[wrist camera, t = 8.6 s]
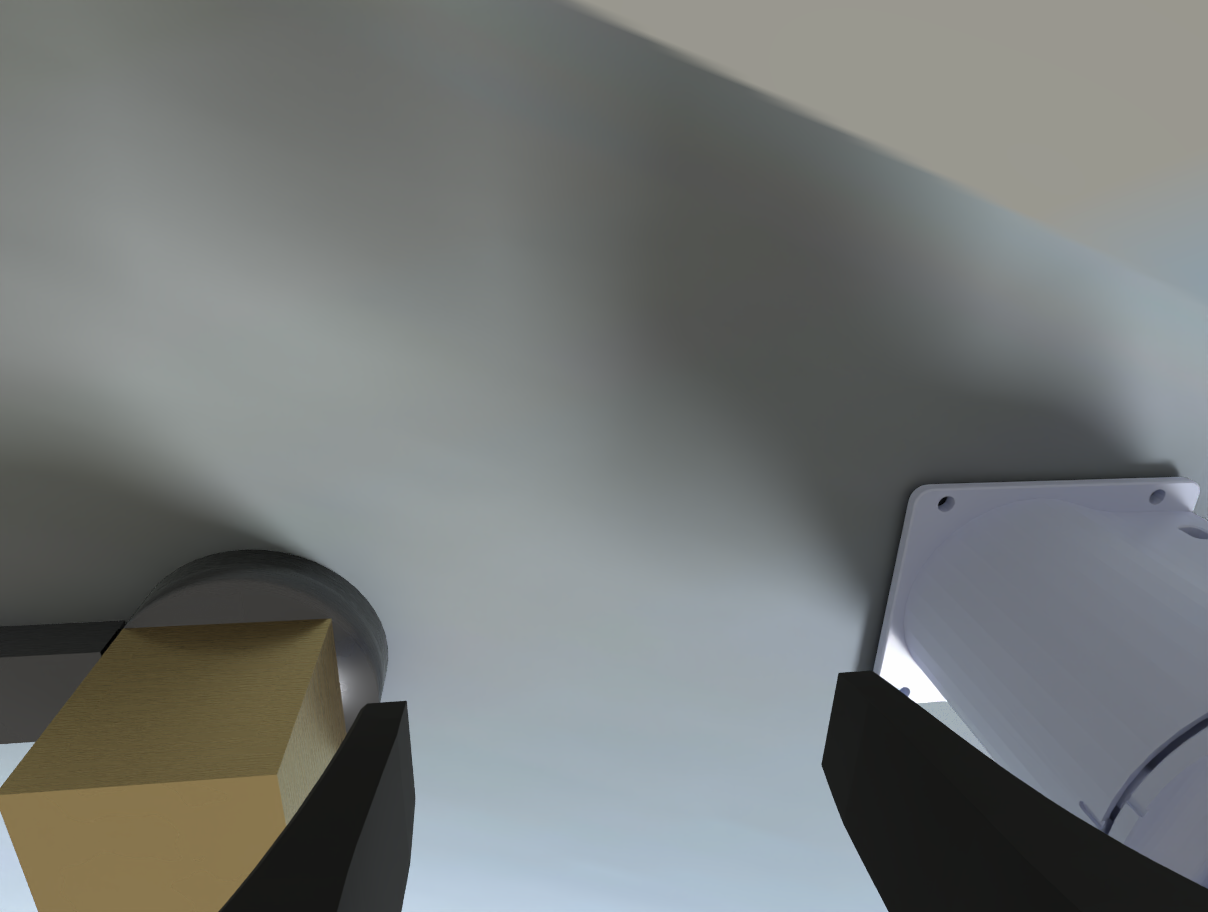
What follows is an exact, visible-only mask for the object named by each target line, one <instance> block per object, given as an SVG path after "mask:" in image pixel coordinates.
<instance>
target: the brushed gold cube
mask: <svg viewBox="0 0 1208 912" xmlns="http://www.w3.org/2000/svg"><path fill="white" fill-rule="evenodd" d="M345 736H346V728H345V720H344V712H343V704H342V696H341V689H340V681H339V673H338V665H337V657H336V650H335V642H334V634H333V626H332V618H331V619H311V620H290V621H269V622H248V623H227V624H206V625H185V626H164V627H144V628H123V629H122V631H121V632H120V633H119V635H118V636H117V637H116V638H115V640H114V641H113V642H112V644H111V645H110V646H109V648H108V649H107V650H106V651H105V653H104V654H103V655H102V657H101V658H100V659H99V661H98V662H97V663H96V664H95V666H94V667H93V668H92V670H91V671H90V672H89V673H88V675H87V676H86V677H85V679H84V680H83V681H82V683H81V684H80V685H79V686H78V688H77V689H76V690H75V692H74V693H73V694H72V696H71V697H70V698H69V699H68V701H67V702H66V703H65V705H64V706H63V707H62V708H61V710H60V711H59V712H58V714H57V715H56V716H55V718H54V719H53V720H52V721H51V723H50V724H49V725H48V727H47V728H46V729H45V731H44V732H43V733H42V734H41V736H40V737H39V738H38V740H37V741H36V742H35V744H34V745H33V746H32V747H31V749H30V750H29V751H28V753H27V754H26V755H25V756H24V758H23V759H22V760H21V762H20V763H19V764H18V766H17V767H16V768H15V769H14V771H13V772H12V773H11V775H10V776H9V777H8V779H7V780H6V781H5V782H4V784H3V785H2V786H1V788H0V811H1V814H2V817H3V819H4V822H5V825H6V827H7V830H8V833H9V835H10V838H11V841H12V843H13V846H14V849H15V851H16V854H17V857H18V859H19V862H20V865H21V867H22V870H23V872H24V875H25V878H26V880H27V883H28V886H29V888H30V891H31V894H32V896H33V899H34V902H35V904H36V907H37V910H38V912H218V911H219V910H220V909H221V908H222V907H223V906H224V905H225V903H226V902H227V901H228V900H229V899H230V897H231V896H232V895H233V894H234V893H235V891H236V890H237V889H238V888H239V887H240V885H241V884H242V883H243V882H244V880H245V879H246V878H247V877H248V876H249V874H250V873H251V872H252V871H253V869H254V868H255V867H256V865H257V864H258V863H259V862H260V860H261V859H262V858H263V856H264V855H265V854H266V852H267V851H268V850H269V848H270V847H271V846H272V844H273V843H274V842H275V840H276V839H277V838H278V836H279V835H280V834H281V832H282V831H283V830H284V828H285V827H286V826H287V824H288V823H289V822H290V820H291V819H292V818H293V816H294V815H295V813H296V812H297V811H298V809H299V808H300V806H301V805H302V803H303V802H304V800H305V799H306V797H307V796H308V794H309V793H310V791H311V790H312V788H313V787H314V785H315V784H316V782H317V781H318V780H319V778H320V777H321V775H322V774H323V772H324V770H325V769H326V767H327V766H328V764H329V763H330V761H331V759H332V758H333V756H334V755H335V753H336V751H337V750H338V748H339V746H340V745H341V743H342V741H343V740H344V738H345Z"/></svg>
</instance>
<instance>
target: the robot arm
mask: <svg viewBox="0 0 1208 912" xmlns="http://www.w3.org/2000/svg"><path fill="white" fill-rule="evenodd" d="M1154 491H1155V492H1154ZM1153 492H1154V493H1153ZM1152 493H1153V495H1152V496H1151V494H1152ZM1199 493H1200V488H1199V485H1198V484H1197V483H1196V482H1195V481H1193V480H1191V479H1189V478H1186V477H1157V478H1123V479H1090V480H1056V481H1023V482H989V483H956V484H927V485H922V486H920V487H918V488H917V489H915V490H914V492H913V493H912V494H911V496H910V498H909V501H908V506H907V511H906V516H905V520H904V525H903V530H902V535H901V540H900V544H899V549H898V554H897V559H896V564H895V568H894V573H893V578H892V583H891V588H890V592H889V597H888V602H887V607H886V611H885V616H884V621H883V626H882V631H881V635H880V640H879V645H878V650H877V655H876V659H875V664H874V669H873V671H861V672H845V673H839V674H838V679H837V684H836V690H835V695H834V700H833V706H832V711H831V717H830V722H829V727H828V733H827V738H826V743H825V749H824V754H823V759H822V768H823V770H824V773H825V776H826V779H827V782H828V784H829V787H830V790H831V793H832V796H833V798H834V801H835V803H836V806H837V809H838V811H839V814H840V816H841V819H842V821H843V824H844V826H845V828H846V830H847V832H848V834H849V836H850V838H851V840H852V842H853V844H854V846H855V848H856V850H857V852H858V854H859V856H860V858H861V860H862V861H863V863H864V865H865V867H866V869H867V871H868V873H869V875H870V877H871V879H872V881H873V883H874V885H875V887H876V888H877V890H878V892H879V894H880V896H881V898H882V900H883V902H884V904H885V906H886V908H887V910H888V911H889V912H1208V520H1206V519H1204V518H1202V517H1200V516H1199V515H1197V514H1195V513H1193V510H1194V507H1195V505H1196V502H1197V499H1198V497H1199ZM946 496H947V500H946V502H945V503H944V504H942V505H940V506H938V503H939V501H940V500H941V499H942V498H943V497H946ZM1150 496H1151V497H1150ZM902 687H903V688H902ZM900 688H902V689H901V690H898V689H900ZM938 701H947V702H948V703H949V705H950V706H951V707H952V708H953V710H954V711H955V712H956V713H957V715H958V716H959V717H960V718H961V720H962V721H963V722H964V723H965V724H966V726H967V727H968V728H969V729H970V731H971V732H972V733H973V734H974V736H975V737H976V738H977V739H978V741H979V742H980V743H981V744H982V746H983V747H984V748H985V749H986V751H987V752H988V753H989V754H990V756H991V757H992V758H993V759H994V760H995V762H994V761H993V760H992V759H990V758H989V757H987V756H986V755H985V754H983V753H982V752H980V751H979V750H978V749H976V748H975V747H974V746H972V745H971V744H970V743H968V742H967V741H966V740H964V739H963V738H961V737H960V736H959V735H957V734H956V733H955V732H954V731H952V730H951V729H950V728H948V727H947V726H946V725H944V724H943V723H942V722H940V721H939V720H938V719H936V718H935V717H934V716H932V715H931V714H930V713H928V712H927V711H926V710H925V709H923V708H922V707H921V706H919V705H918V704H917V703H924V702H938ZM414 810H415V788H414V777H413V766H412V755H411V744H410V733H409V722H408V710H407V701H398V702H383V703H367V704H366V705H365V706H364V707H363V708H362V709H361V710H360V711H359V713H358V715H357V717H356V719H355V721H354V722H353V724H352V726H351V728H350V729H349V731H348V733H347V735H346V736H345V738H344V740H343V741H342V743H341V745H340V746H339V748H338V750H337V751H336V753H335V755H334V756H333V758H332V759H331V761H330V763H329V764H328V766H327V767H326V769H325V770H324V772H323V774H322V775H321V777H320V778H319V780H318V781H317V782H316V784H315V785H314V787H313V788H312V790H311V791H310V793H309V794H308V796H307V797H306V799H305V800H304V802H303V803H302V805H301V806H300V808H299V809H298V811H297V812H296V813H295V815H294V816H293V818H292V819H291V820H290V822H289V823H288V824H287V826H286V827H285V828H284V830H283V831H282V832H281V834H280V835H279V836H278V838H277V839H276V840H275V842H274V843H273V844H272V846H271V847H270V848H269V850H268V851H267V852H266V854H265V855H264V856H263V858H262V859H261V860H260V862H259V863H258V864H257V865H256V867H255V868H254V869H253V871H252V872H251V873H250V874H249V876H248V877H247V878H246V879H245V880H244V882H243V883H242V884H241V885H240V887H239V888H238V889H237V890H236V891H235V893H234V894H233V895H232V896H231V897H230V899H229V900H228V901H227V902H226V903H225V905H224V906H223V907H222V908H221V909H220V910H219V911H218V912H401V910H402V905H403V899H404V894H405V889H406V883H407V878H408V872H409V867H410V858H411V847H412V835H413V823H414Z"/></svg>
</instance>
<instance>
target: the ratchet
mask: <svg viewBox="0 0 1208 912" xmlns="http://www.w3.org/2000/svg"><path fill="white" fill-rule="evenodd" d="M331 618H332V626H333V634H334V642H335V650H336V657H337V665H338V673H339V681H340V689H341V696H342V704H343V712H344V720H345V728H346V735H347V733H348V731H349V729H350V728H351V726H352V724H353V722H354V721H355V719H356V717H357V715H358V713H359V711H360V710H361V709H362V708H363V707H364V706H365V705H366V704H367V703H380V700H381V696H382V691H383V686H384V681H385V676H386V671H387V664H388V646H387V641H386V635H385V632H384V629H383V627H382V624H381V622H380V620H379V618H378V616H377V614H376V612H375V610H374V609H373V608H372V606H371V605H370V603H369V602H368V601H367V599H366V598H365V597H364V596H363V595H362V594H361V593H360V592H359V591H358V590H357V589H356V588H355V587H354V586H353V585H351V584H350V583H349V582H348V581H346V580H345V579H344V578H343V577H341V576H339V575H338V574H336V573H335V572H333V571H331V570H330V569H328V568H326V567H324V566H322V565H319V564H317V563H315V562H313V561H310V560H307V559H304V558H301V557H299V556H294V555H290V554H286V553H282V552H274V551H266V550H239V551H228V552H223V553H218V554H214V555H210V556H207V557H204V558H201V559H198V560H195V561H193V562H191V563H189V564H187V565H185V566H183V567H181V568H179V569H177V570H176V571H174V572H173V573H171V574H170V575H168V576H167V577H166V578H165V579H164V580H163V581H161V582H160V583H159V584H158V585H157V586H156V587H155V588H154V589H153V591H152V592H151V593H150V594H149V596H148V597H147V598H146V599H145V601H144V602H143V603H142V605H141V606H140V607H139V608H138V610H137V611H136V612H135V614H134V615H133V616H132V618H131V619H130V620H129V621H128V623H127V624H125V621H110V622H89V623H68V624H47V625H27V626H6V627H0V744H9V743H23V742H36V741H37V740H38V738H39V737H40V736H41V734H42V733H43V732H44V731H45V729H46V728H47V727H48V725H49V724H50V723H51V721H52V720H53V719H54V718H55V716H56V715H57V714H58V712H59V711H60V710H61V708H62V707H63V706H64V705H65V703H66V702H67V701H68V699H69V698H70V697H71V696H72V694H73V693H74V692H75V690H76V689H77V688H78V686H79V685H80V684H81V683H82V681H83V680H84V679H85V677H86V676H87V675H88V673H89V672H90V671H91V670H92V668H93V667H94V666H95V664H96V663H97V662H98V661H99V659H100V658H101V657H102V655H103V654H104V653H105V651H106V650H107V649H108V648H109V646H110V645H111V644H112V642H113V641H114V640H115V638H116V637H117V636H118V635H119V633H120V632H121V631H122V629H123V628H144V627H164V626H185V625H206V624H227V623H248V622H269V621H290V620H311V619H331Z"/></svg>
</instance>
